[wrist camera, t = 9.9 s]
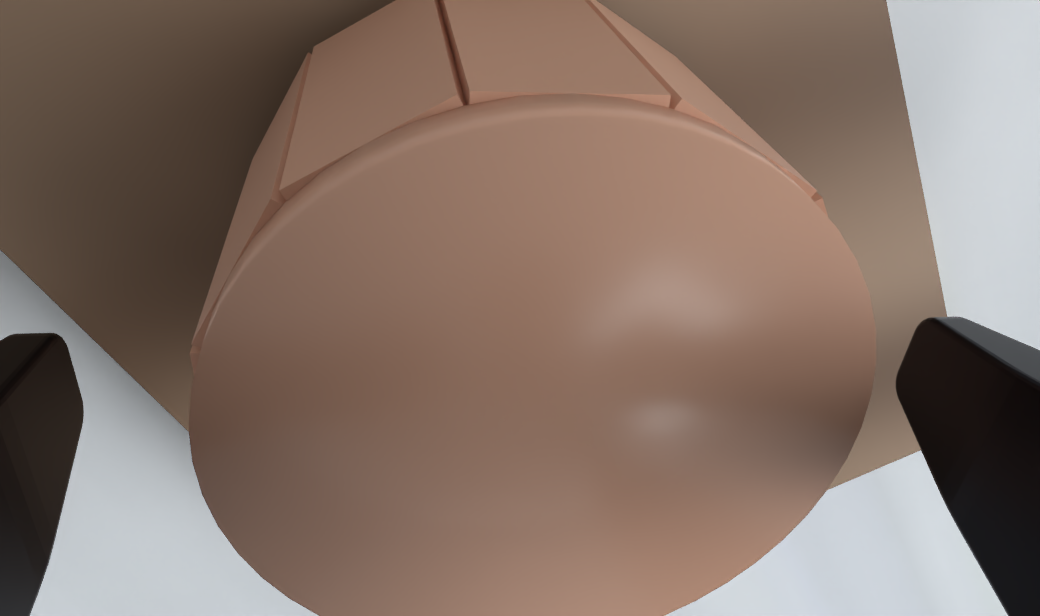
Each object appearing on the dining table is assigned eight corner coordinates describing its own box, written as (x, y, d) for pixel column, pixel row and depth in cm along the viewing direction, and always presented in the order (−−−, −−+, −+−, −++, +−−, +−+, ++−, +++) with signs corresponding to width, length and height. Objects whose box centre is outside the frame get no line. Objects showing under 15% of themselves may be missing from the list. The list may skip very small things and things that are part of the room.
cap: (762, 285, 12) (927, 502, 9) (411, 452, 13) (423, 718, 10) (611, -122, 9) (775, -51, 5) (150, 139, 10) (12, 359, 6)
